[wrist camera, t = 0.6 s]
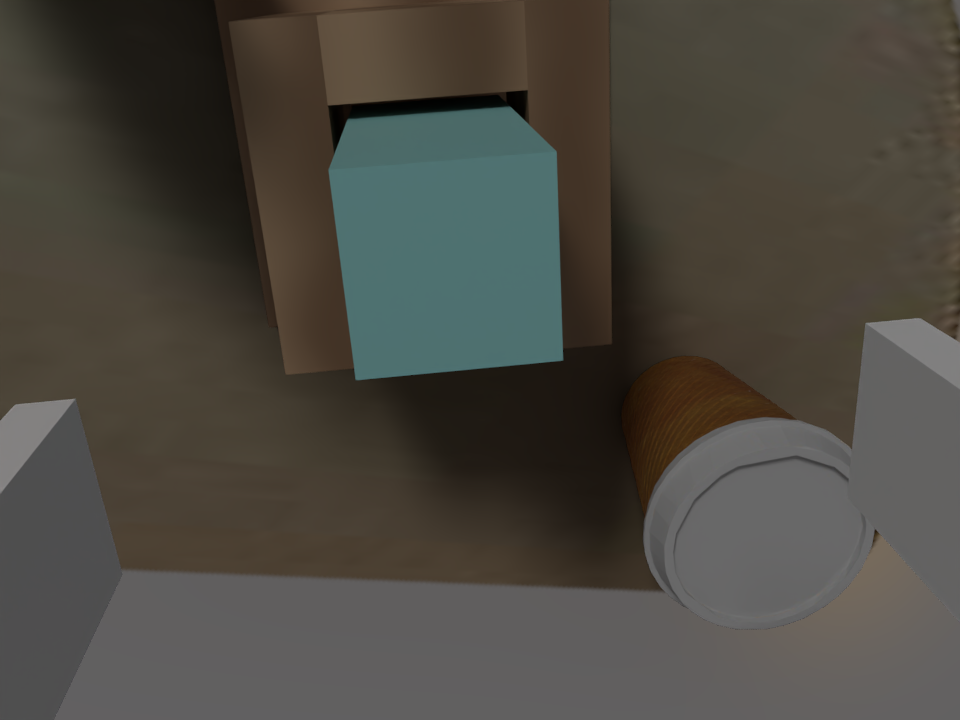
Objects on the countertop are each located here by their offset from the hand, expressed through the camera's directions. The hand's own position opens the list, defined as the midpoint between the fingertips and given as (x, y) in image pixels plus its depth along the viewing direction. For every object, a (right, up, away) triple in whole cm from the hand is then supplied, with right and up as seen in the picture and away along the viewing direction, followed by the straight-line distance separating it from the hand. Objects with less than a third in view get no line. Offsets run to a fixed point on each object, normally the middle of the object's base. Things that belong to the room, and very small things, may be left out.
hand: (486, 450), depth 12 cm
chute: (-3, +11, +28) cm, 30 cm away
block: (-2, +8, +19) cm, 21 cm away
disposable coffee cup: (+10, -1, +34) cm, 36 cm away
